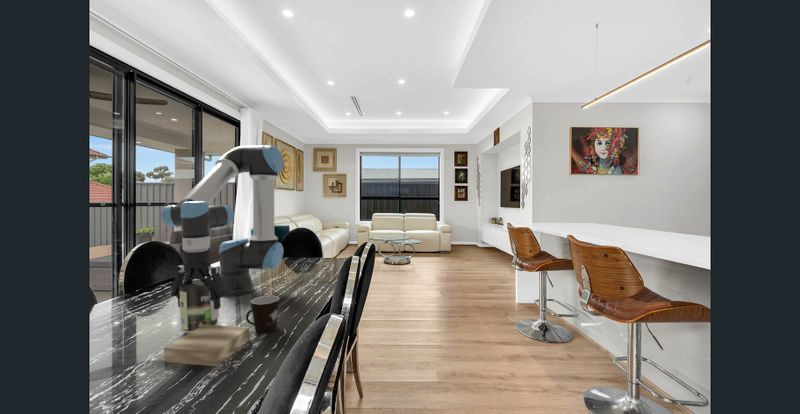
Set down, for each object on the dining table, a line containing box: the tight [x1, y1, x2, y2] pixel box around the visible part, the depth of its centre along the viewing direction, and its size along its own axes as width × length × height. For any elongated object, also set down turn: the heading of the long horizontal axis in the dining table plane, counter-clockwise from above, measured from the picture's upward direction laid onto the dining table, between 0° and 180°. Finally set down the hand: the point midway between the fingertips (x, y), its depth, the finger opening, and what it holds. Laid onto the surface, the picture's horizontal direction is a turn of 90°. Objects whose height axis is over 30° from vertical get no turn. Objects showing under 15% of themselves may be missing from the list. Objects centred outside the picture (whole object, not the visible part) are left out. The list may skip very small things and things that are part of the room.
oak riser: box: [163, 324, 251, 367], centre depth 94 cm, size 15×15×4 cm
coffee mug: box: [245, 294, 280, 335], centre depth 107 cm, size 12×9×10 cm
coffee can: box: [179, 279, 219, 334], centre depth 107 cm, size 10×10×14 cm
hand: (199, 317), depth 107 cm, fingers closed on coffee can, 10 cm apart
